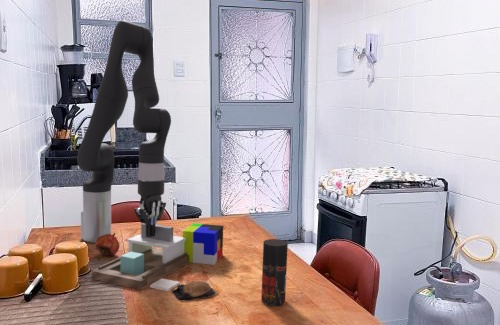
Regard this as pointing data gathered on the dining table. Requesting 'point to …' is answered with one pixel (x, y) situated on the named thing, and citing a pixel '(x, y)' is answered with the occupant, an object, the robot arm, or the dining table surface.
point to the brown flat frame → (152, 270)
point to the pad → (164, 284)
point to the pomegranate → (107, 245)
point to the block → (132, 263)
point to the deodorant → (274, 272)
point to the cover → (158, 242)
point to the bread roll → (194, 291)
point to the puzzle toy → (203, 243)
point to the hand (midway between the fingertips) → (150, 236)
